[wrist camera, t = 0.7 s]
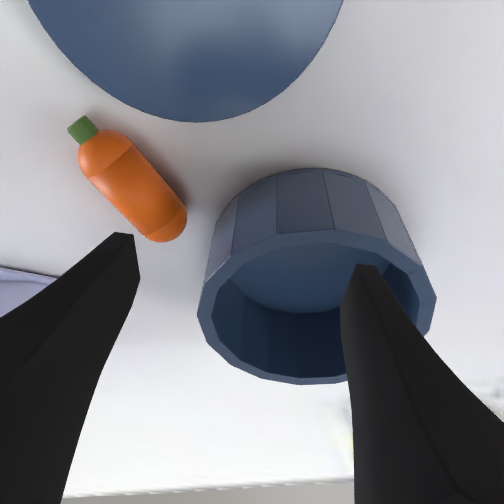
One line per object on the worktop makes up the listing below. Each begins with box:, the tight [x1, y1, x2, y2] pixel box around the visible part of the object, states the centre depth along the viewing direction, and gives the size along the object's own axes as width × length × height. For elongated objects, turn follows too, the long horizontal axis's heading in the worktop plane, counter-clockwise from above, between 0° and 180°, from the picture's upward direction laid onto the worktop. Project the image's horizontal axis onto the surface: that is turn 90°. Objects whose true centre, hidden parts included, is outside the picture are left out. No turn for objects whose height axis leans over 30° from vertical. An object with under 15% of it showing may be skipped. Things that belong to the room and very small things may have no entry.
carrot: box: [67, 115, 187, 242], centre depth 20 cm, size 8×3×3 cm, turn 32°
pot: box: [197, 168, 437, 385], centre depth 23 cm, size 13×13×6 cm
